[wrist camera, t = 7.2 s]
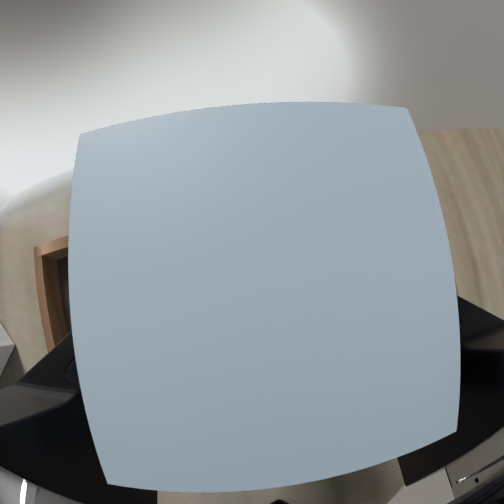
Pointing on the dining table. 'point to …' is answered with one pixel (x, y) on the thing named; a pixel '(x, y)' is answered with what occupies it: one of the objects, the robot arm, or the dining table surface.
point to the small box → (4, 347)
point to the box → (55, 289)
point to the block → (260, 295)
